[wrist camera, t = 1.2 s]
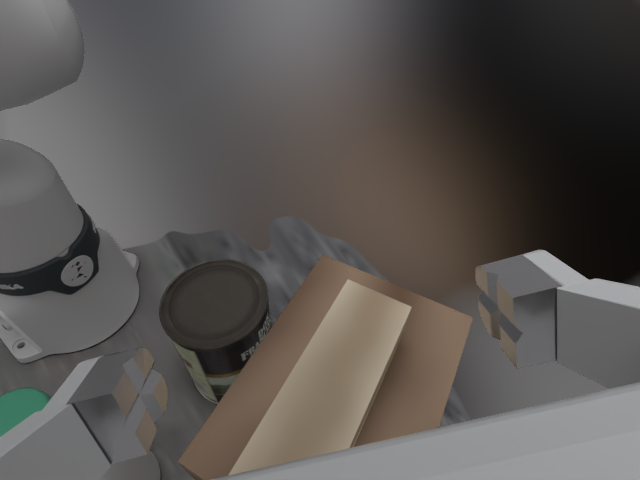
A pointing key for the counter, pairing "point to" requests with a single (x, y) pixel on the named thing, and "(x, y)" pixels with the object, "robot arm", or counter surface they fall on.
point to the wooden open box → (292, 339)
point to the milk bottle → (14, 407)
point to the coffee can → (216, 321)
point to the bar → (330, 381)
